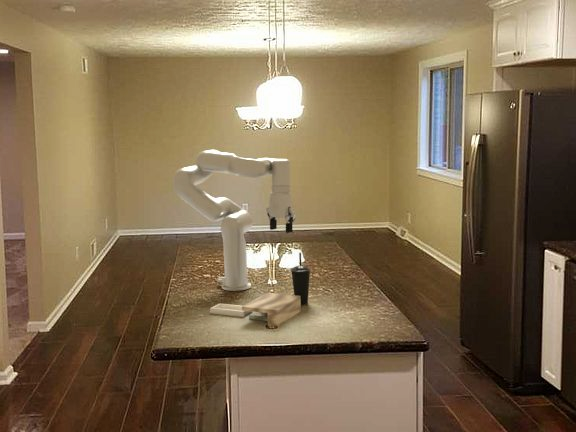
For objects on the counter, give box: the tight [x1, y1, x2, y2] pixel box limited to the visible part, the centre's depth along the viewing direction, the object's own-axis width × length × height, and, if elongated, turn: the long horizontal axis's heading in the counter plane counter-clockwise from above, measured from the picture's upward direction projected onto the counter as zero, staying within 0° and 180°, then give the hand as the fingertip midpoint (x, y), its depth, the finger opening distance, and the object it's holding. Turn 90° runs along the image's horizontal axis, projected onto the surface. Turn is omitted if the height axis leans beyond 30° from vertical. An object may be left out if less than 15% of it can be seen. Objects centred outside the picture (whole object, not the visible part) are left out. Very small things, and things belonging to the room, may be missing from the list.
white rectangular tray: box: [209, 303, 252, 318], centre depth 269 cm, size 14×7×2 cm, turn 66°
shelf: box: [241, 292, 302, 328], centre depth 261 cm, size 14×20×6 cm
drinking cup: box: [290, 252, 311, 306], centre depth 277 cm, size 8×8×20 cm
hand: (281, 230), depth 295 cm, fingers open, 9 cm apart
